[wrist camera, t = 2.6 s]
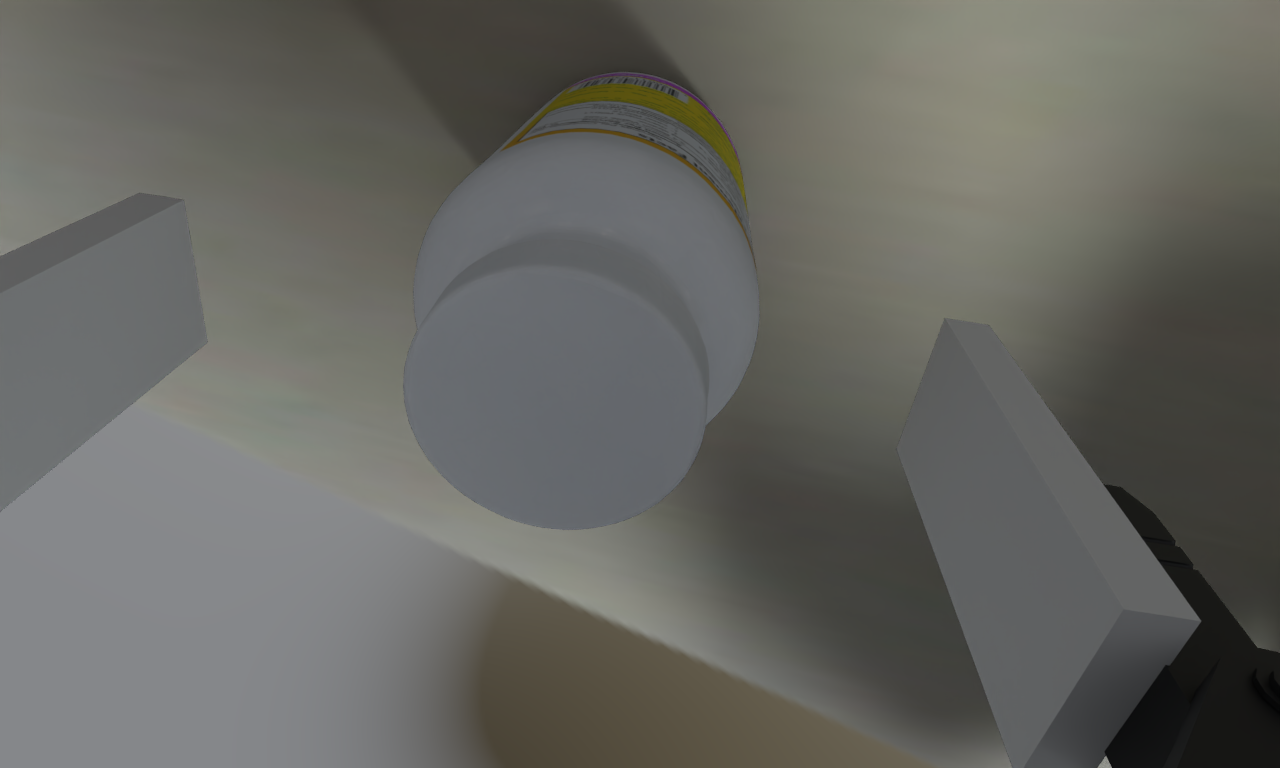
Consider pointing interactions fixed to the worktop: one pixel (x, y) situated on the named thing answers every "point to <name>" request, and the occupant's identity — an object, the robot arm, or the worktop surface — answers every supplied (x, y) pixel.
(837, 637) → the worktop surface
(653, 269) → the supplement bottle
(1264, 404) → the worktop surface
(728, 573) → the worktop surface
